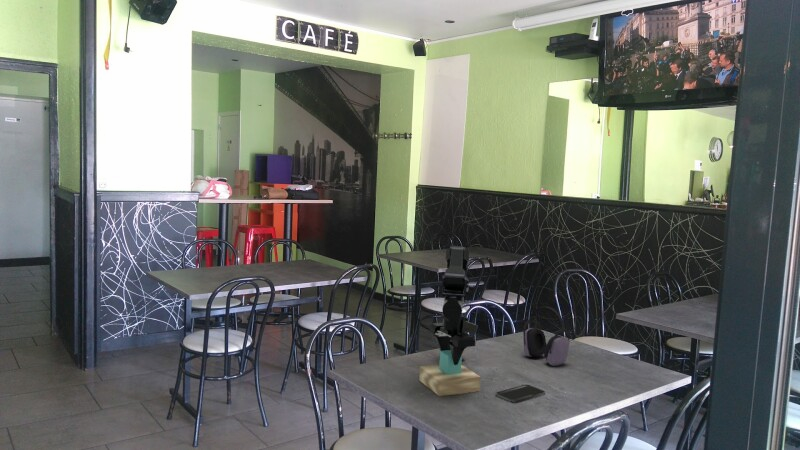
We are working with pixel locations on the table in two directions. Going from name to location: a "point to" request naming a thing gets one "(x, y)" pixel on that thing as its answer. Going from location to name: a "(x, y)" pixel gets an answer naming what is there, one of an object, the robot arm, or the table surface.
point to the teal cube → (449, 363)
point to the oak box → (449, 380)
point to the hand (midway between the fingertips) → (450, 361)
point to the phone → (520, 393)
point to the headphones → (537, 344)
